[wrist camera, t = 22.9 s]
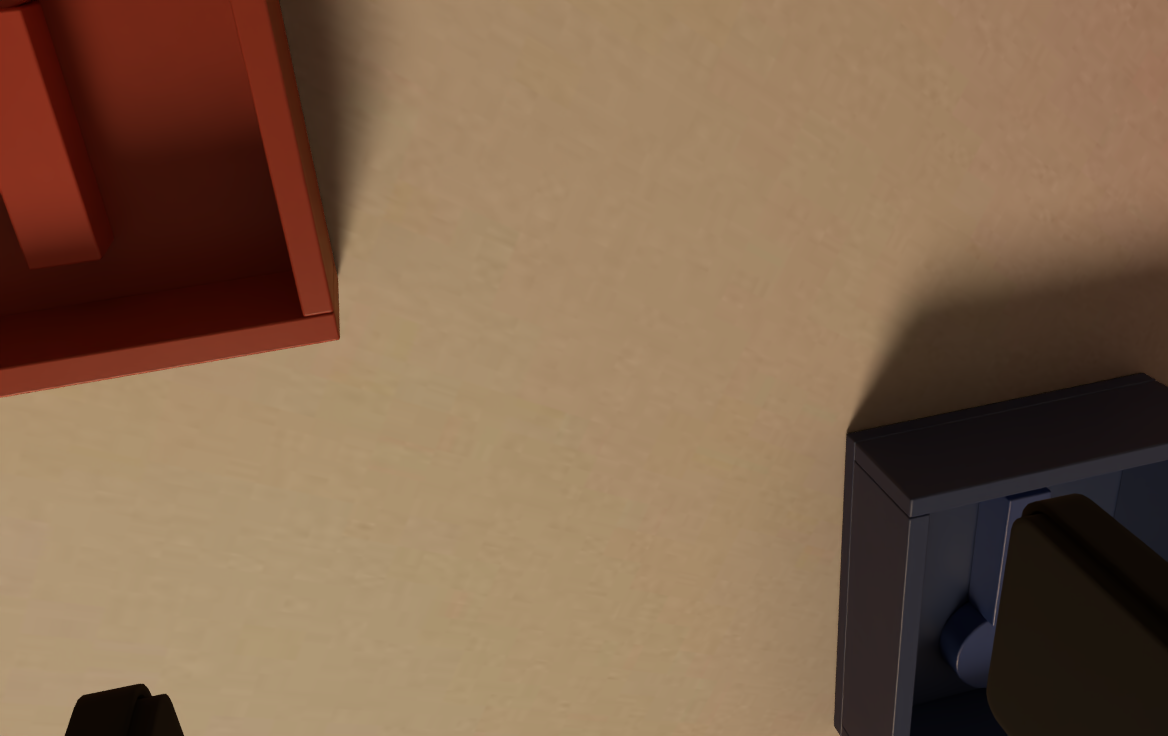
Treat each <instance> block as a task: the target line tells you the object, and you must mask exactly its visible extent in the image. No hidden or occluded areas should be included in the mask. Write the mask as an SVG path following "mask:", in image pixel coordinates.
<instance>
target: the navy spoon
mask: <svg viewBox="0 0 1168 736" xmlns="http://www.w3.org/2000/svg"><path fill="white" fill-rule="evenodd" d="M1050 497H1051V491H1050V490H1049V489H1048V488H1047V487H1045V488H1040V489H1036V490H1031V491H1027V492H1022V493H1018V494H1013V495H1009V496H1005V497H1000V498H996V499H991V500H987V501H982V502H980V503H979V511H978V519H977V527H976V535H975V544H974V552H973V560H972V568H971V576H970V584H969V593H968V600H969V601H968V602H967V603H965V604H964V605H963V606H961V607H960V608H959V609H958V610H957V611H955V612H954V614H953V615H952V616H951V617H950V618H949V620H948V621H947V623H946V624H945V626H944V628H943V630H942V633H941V636H940V641H939V647H940V652H941V655H942V657H943V659H944V660H945V661H946V662H947V664H948V665H949V666H950V667H951V668H952V670H953V671H954V672H955V673H956V675H957V676H958V677H959V678H960V679H961V681H963V682H964V683H966V684H968V685H970V686H972V687H977V688H987V681H988V674H989V668H990V661H991V655H992V649H993V642H994V636H995V629H996V623H997V617H998V610H999V604H1000V597H1001V591H1002V585H1003V578H1004V572H1005V565H1006V559H1007V553H1008V546H1009V540H1010V533H1011V528H1012V525H1013V522H1014V521H1015V520H1016V519H1018V518H1021V516H1022V512H1023V509H1024V508H1025V507H1026V506H1027V504H1029V503H1032V502H1035V501H1040V500H1045V499H1050Z"/></svg>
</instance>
